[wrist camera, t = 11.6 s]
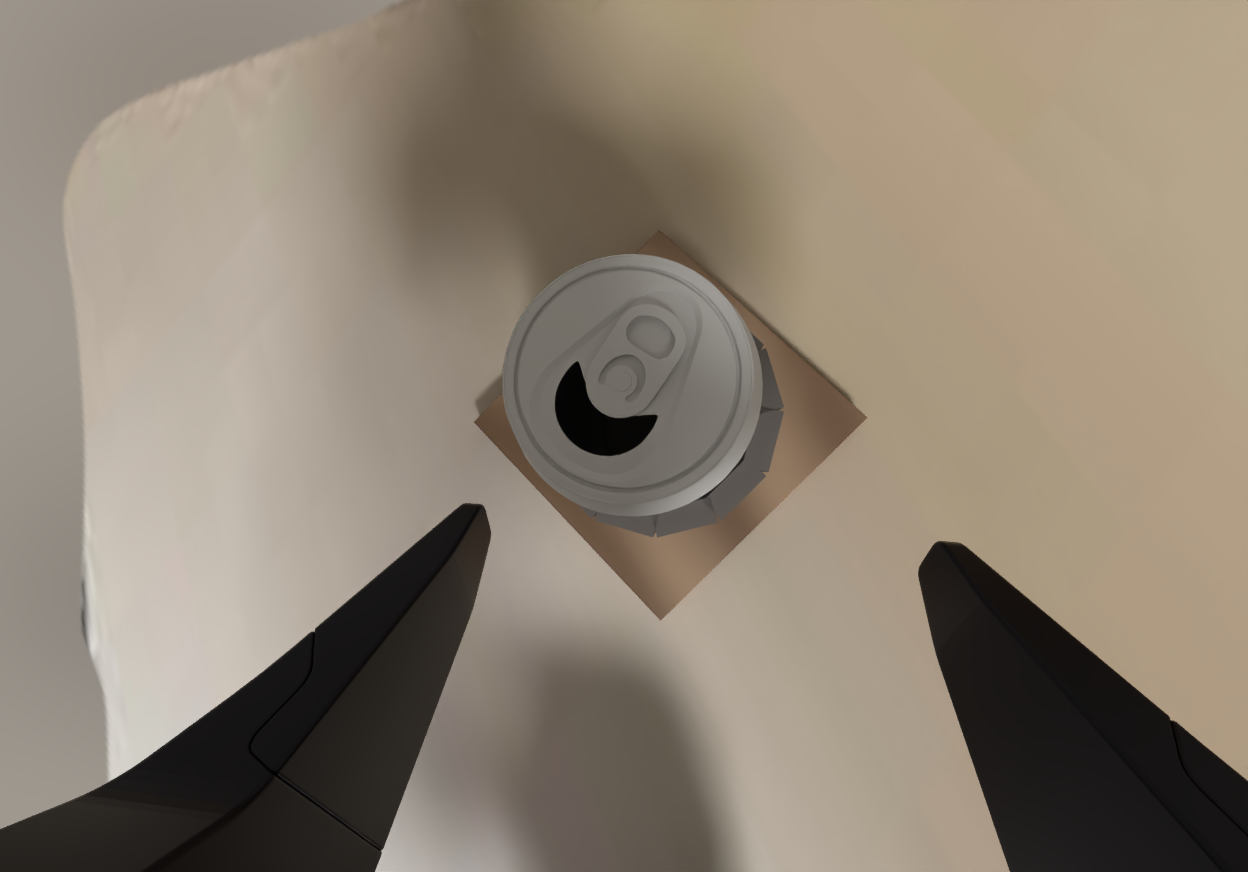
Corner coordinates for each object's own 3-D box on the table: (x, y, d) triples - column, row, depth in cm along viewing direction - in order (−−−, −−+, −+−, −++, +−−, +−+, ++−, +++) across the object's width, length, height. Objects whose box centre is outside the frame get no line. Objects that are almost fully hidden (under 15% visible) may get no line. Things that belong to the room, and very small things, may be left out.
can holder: (661, 613, 23) (655, 649, 18) (482, 423, 24) (437, 414, 20) (859, 419, 22) (902, 407, 18) (660, 239, 24) (654, 187, 19)
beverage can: (564, 442, 23) (430, 416, 11) (640, 332, 23) (588, 183, 11) (674, 521, 22) (658, 585, 10) (754, 406, 22) (834, 333, 10)
